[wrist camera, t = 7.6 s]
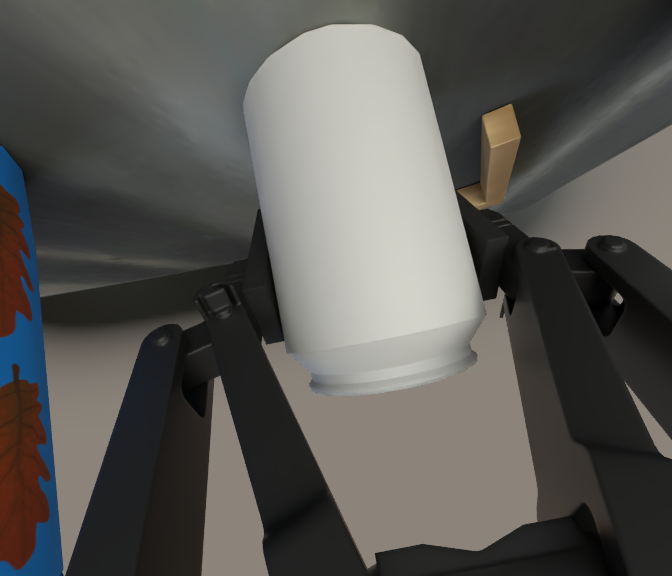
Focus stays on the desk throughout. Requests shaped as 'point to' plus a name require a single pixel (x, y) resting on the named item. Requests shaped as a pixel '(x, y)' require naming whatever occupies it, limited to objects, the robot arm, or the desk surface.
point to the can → (361, 213)
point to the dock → (495, 158)
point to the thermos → (23, 397)
